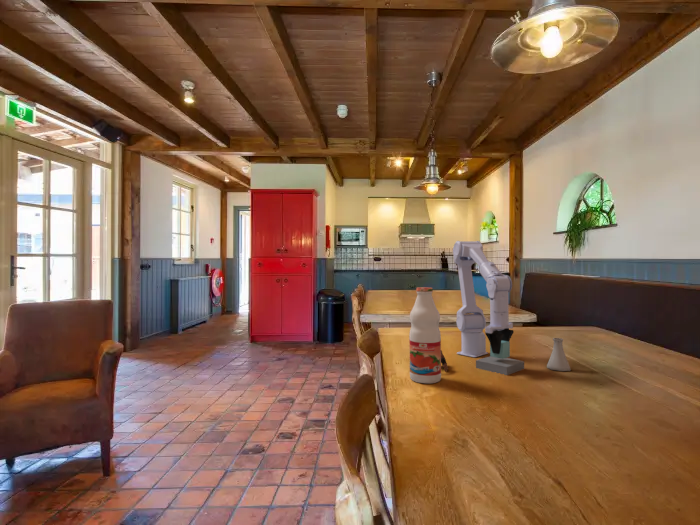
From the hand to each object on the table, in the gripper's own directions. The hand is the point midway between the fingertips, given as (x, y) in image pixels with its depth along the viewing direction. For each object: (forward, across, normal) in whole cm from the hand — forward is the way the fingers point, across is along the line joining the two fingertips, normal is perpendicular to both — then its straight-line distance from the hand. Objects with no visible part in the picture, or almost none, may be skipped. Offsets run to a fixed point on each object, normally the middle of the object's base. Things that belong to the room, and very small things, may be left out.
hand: (499, 352), depth 125 cm
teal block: (+1, 0, 0) cm, 1 cm away
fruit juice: (+6, -28, +9) cm, 30 cm away
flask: (+6, +14, -13) cm, 20 cm away
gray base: (+6, 0, 0) cm, 6 cm away
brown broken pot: (+6, -16, +15) cm, 23 cm away
